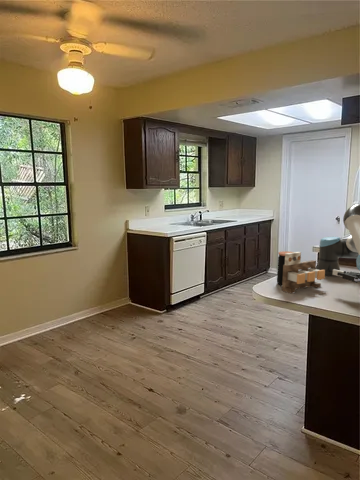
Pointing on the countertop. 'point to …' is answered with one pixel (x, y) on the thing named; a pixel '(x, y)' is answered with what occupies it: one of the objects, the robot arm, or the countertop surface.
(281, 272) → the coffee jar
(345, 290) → the countertop surface
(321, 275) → the button
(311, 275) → the button middle
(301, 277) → the button
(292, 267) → the button panel
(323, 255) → the robot arm
